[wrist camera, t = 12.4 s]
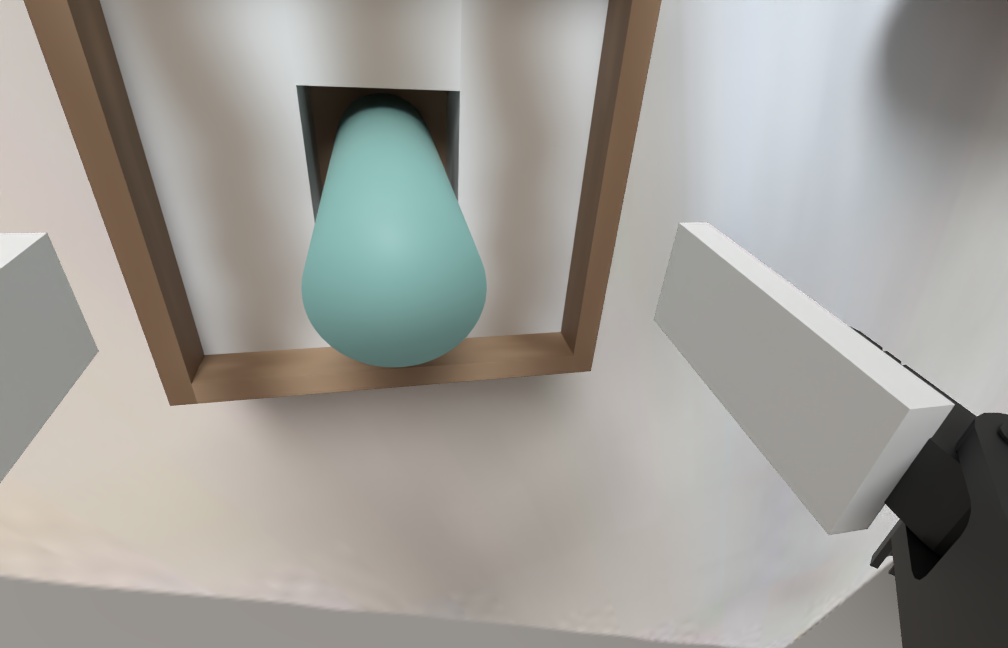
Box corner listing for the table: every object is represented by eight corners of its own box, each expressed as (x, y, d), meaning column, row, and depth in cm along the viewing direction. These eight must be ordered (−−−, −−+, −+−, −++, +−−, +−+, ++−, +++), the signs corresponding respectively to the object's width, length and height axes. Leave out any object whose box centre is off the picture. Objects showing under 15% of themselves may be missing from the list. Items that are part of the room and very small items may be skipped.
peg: (429, 94, 22) (491, 205, 11) (430, 186, 25) (483, 361, 13) (332, 91, 22) (287, 208, 10) (342, 186, 24) (314, 373, 12)
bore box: (598, -91, 21) (684, -120, 15) (549, 298, 31) (590, 371, 25) (86, -150, 17) (-56, -219, 11) (213, 315, 27) (170, 405, 21)
